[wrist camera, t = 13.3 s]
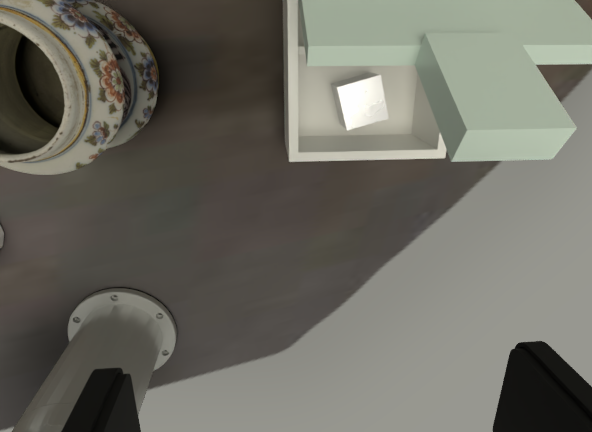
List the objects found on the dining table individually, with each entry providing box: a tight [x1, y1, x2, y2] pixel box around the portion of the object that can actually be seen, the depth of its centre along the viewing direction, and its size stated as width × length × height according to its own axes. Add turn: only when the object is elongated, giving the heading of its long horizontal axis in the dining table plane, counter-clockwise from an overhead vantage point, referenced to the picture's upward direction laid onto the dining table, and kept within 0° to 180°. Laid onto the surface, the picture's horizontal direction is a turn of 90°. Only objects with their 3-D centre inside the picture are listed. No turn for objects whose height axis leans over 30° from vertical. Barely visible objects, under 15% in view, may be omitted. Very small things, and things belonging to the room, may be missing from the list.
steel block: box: [331, 72, 389, 130], centre depth 39 cm, size 4×4×4 cm
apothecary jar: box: [0, 0, 159, 175], centre depth 31 cm, size 12×12×18 cm
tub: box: [283, 0, 446, 162], centre depth 37 cm, size 18×14×8 cm
